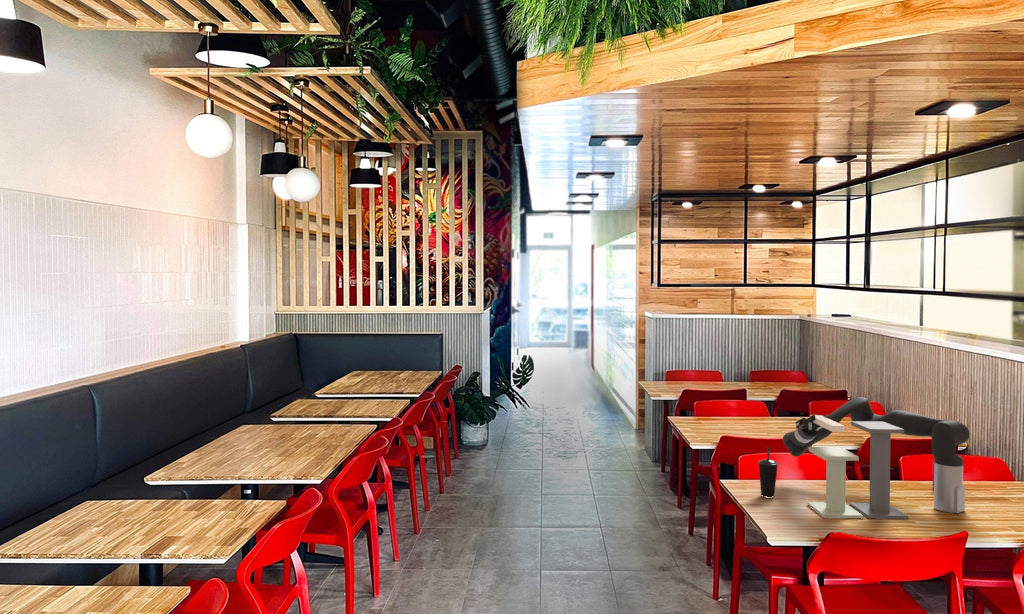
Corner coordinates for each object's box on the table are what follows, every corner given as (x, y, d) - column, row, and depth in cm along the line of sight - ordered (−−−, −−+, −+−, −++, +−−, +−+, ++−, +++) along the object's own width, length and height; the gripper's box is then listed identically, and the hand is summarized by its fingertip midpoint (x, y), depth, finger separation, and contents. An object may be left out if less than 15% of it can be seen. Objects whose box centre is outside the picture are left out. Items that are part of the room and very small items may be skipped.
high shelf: (847, 504, 282) (848, 421, 281) (884, 504, 281) (885, 421, 281) (868, 518, 264) (869, 430, 263) (908, 519, 263) (909, 430, 263)
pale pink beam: (809, 420, 290) (810, 415, 290) (821, 420, 290) (821, 415, 290) (832, 431, 268) (832, 425, 268) (844, 431, 268) (844, 425, 268)
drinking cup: (778, 495, 294) (779, 445, 293) (777, 500, 287) (777, 449, 287) (758, 493, 297) (759, 443, 297) (756, 497, 290) (757, 447, 290)
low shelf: (805, 503, 282) (806, 446, 282) (842, 504, 282) (843, 447, 281) (823, 518, 264) (824, 457, 264) (863, 518, 264) (863, 457, 263)
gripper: (787, 422, 302) (800, 407, 287) (822, 422, 301) (837, 408, 286) (790, 440, 298) (804, 426, 283) (826, 440, 298) (841, 426, 283)
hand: (820, 417), depth 285 cm, fingers closed on pale pink beam, 4 cm apart
